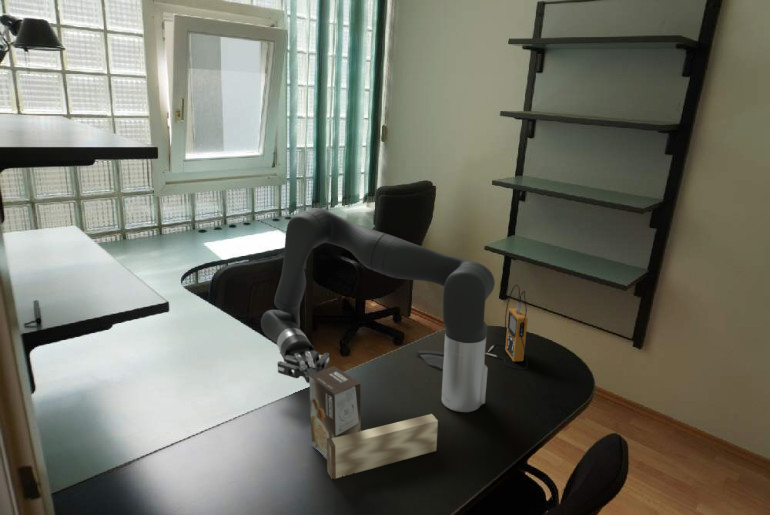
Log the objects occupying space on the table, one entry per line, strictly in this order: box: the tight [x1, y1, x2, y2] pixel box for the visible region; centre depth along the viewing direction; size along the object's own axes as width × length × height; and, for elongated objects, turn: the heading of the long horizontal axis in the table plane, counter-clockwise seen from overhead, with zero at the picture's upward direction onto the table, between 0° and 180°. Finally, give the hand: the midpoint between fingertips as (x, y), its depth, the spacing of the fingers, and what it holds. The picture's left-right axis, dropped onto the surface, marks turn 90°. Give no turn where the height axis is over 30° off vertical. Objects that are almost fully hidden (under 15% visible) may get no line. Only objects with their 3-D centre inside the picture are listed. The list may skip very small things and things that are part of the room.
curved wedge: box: [416, 349, 444, 372], centre depth 140 cm, size 8×14×2 cm, turn 47°
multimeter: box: [485, 284, 529, 370], centre depth 140 cm, size 15×10×20 cm
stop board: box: [326, 413, 439, 480], centre depth 100 cm, size 22×3×7 cm, turn 113°
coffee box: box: [309, 366, 362, 460], centre depth 101 cm, size 9×6×16 cm
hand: (314, 380), depth 114 cm, fingers closed
